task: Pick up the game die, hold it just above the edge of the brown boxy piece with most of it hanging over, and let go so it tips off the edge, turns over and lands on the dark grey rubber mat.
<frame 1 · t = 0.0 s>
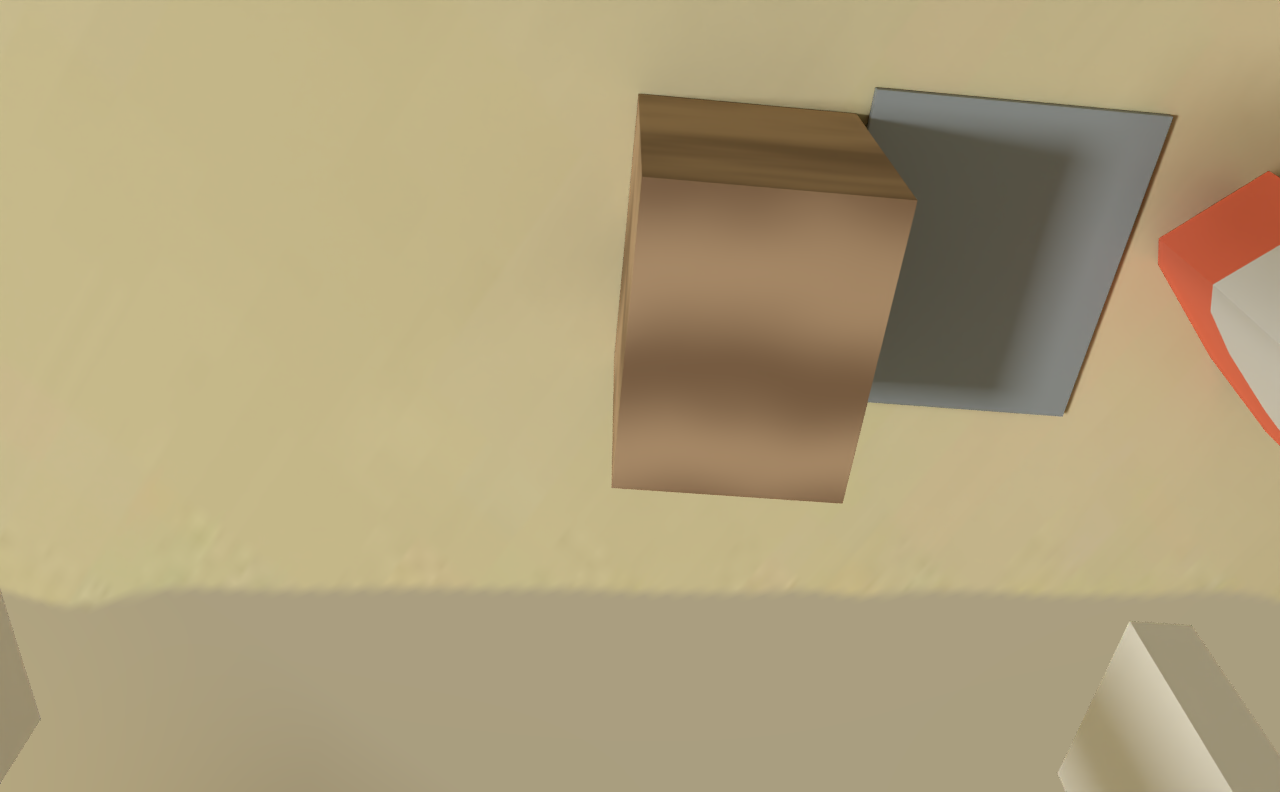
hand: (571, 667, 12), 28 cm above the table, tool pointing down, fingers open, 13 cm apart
mat: (976, 265, 40), on the table
brown boxy piece: (727, 244, 39), on the table
french fries container: (1227, 283, 41), on the table
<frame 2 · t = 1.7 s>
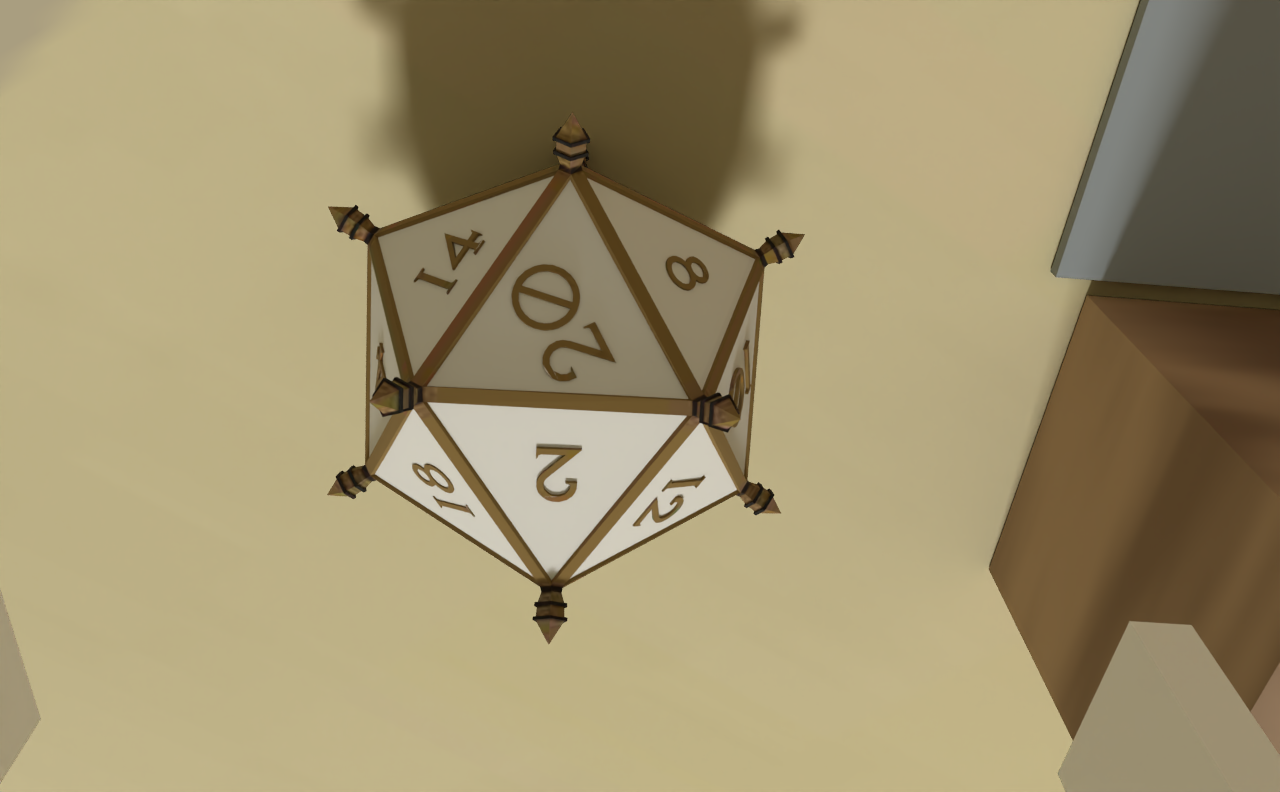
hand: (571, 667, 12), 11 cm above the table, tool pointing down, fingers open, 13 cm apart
brown boxy piece: (1248, 457, 25), on the table
game die: (570, 272, 22), on the table
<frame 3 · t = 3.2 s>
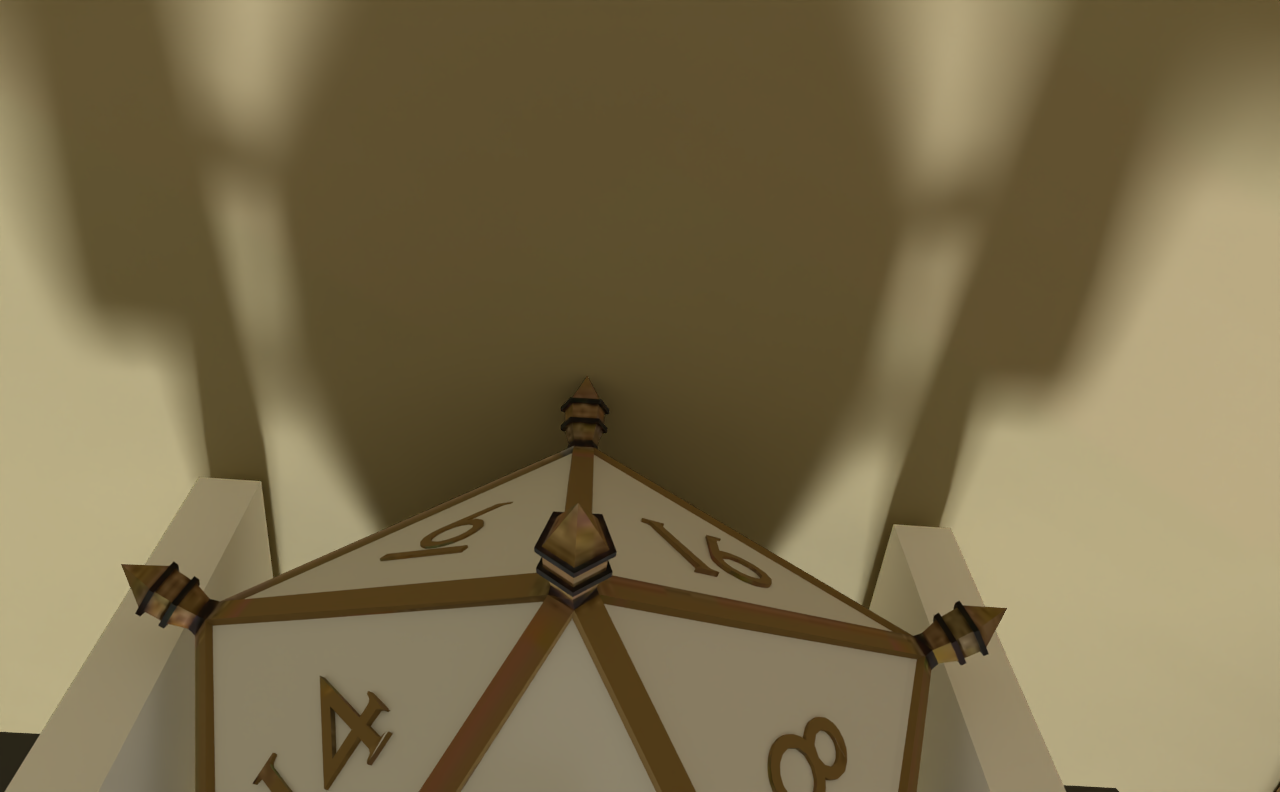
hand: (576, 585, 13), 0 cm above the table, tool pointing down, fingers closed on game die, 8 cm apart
game die: (576, 560, 14), on the table, touching gripper
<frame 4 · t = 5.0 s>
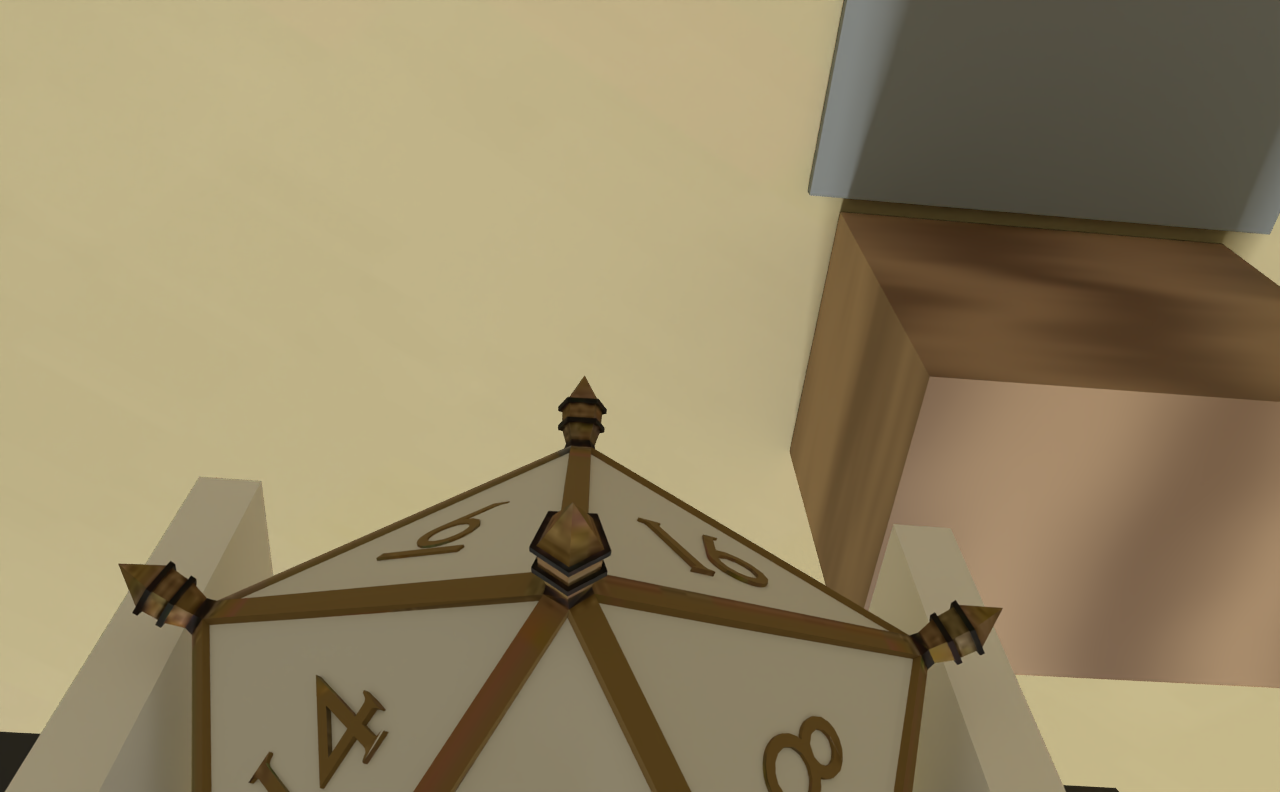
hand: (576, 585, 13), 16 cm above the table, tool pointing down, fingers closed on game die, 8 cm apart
mat: (1106, 0, 25), on the table
brown boxy piece: (994, 353, 30), on the table
game die: (574, 559, 14), point 15 cm above the table, touching gripper
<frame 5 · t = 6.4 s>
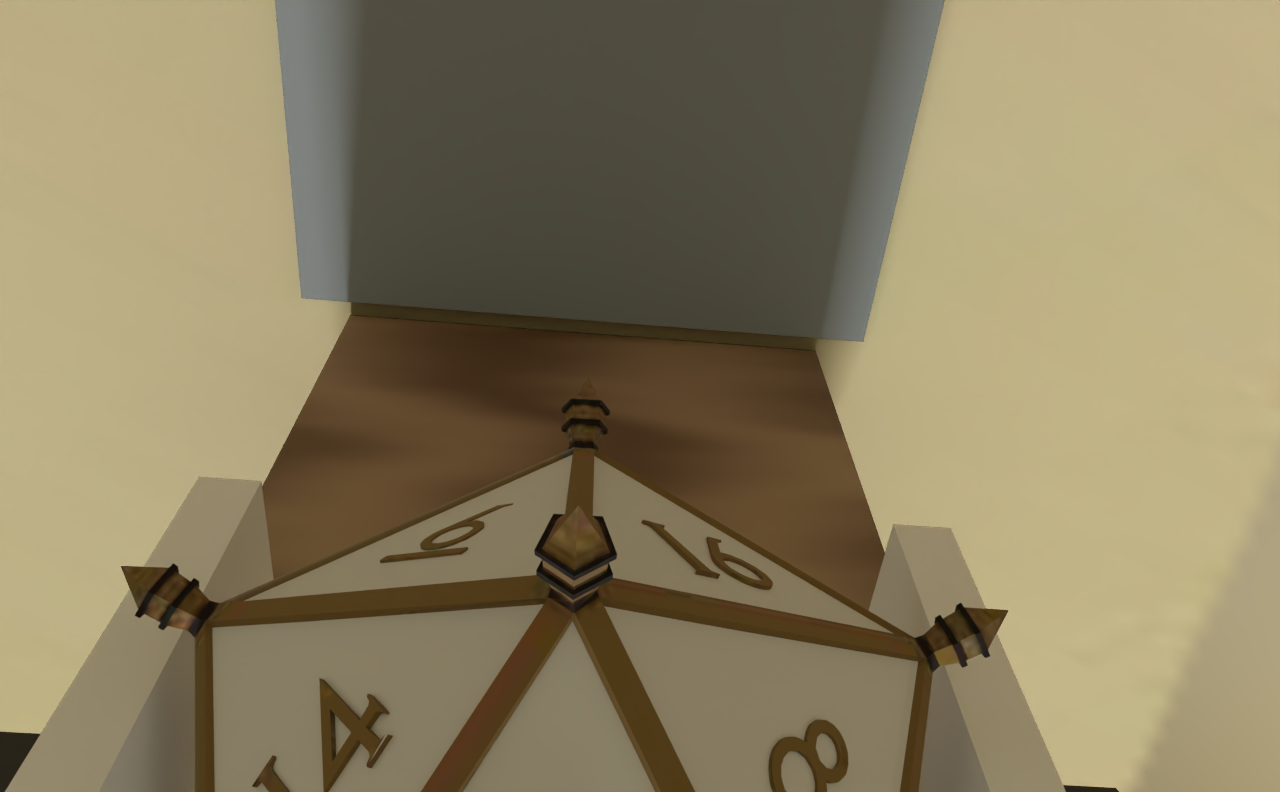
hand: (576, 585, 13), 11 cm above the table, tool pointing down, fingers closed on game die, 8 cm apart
mat: (605, 75, 21), on the table
brown boxy piece: (575, 471, 26), on the table
game die: (577, 561, 14), point 10 cm above the table, touching gripper
when the fingers open (10 cm above the table, at t = 6.9 s): game die drops 4 cm, resting on mat.
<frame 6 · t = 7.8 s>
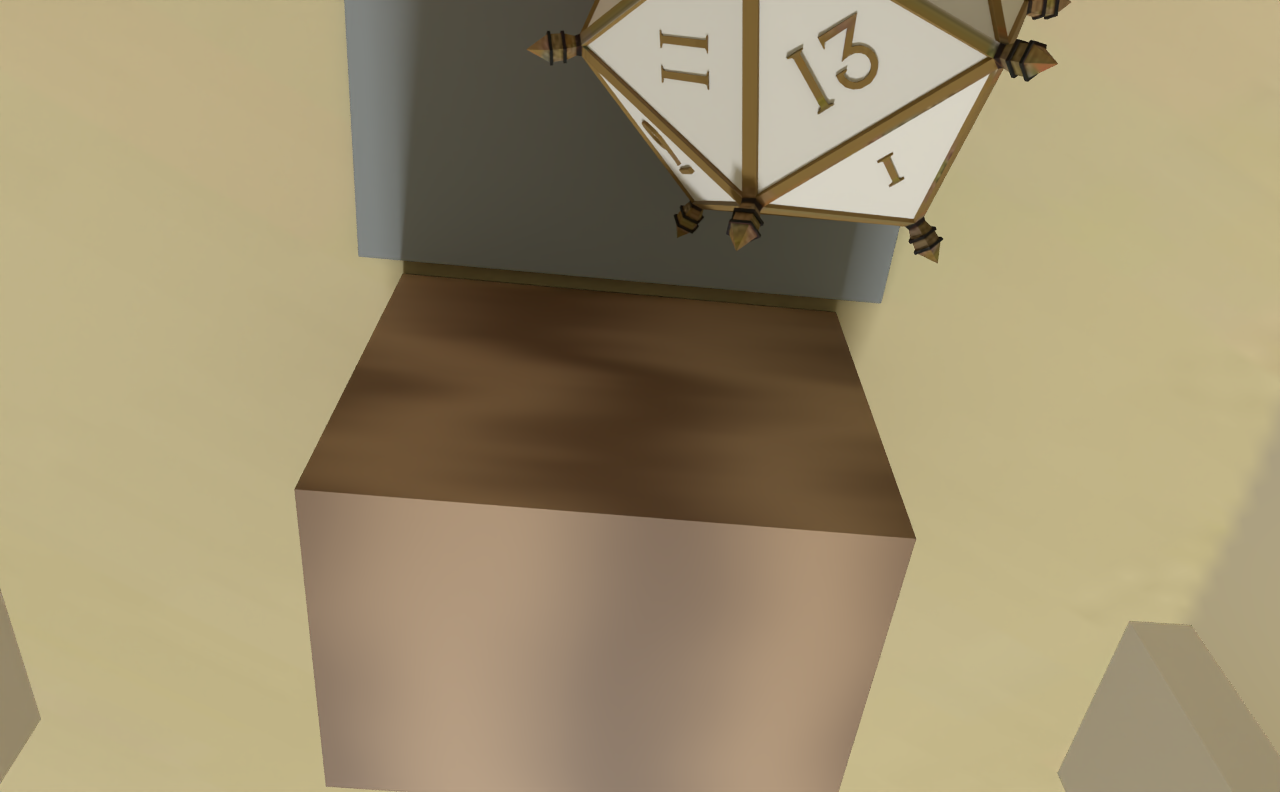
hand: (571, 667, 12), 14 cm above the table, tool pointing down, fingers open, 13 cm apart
mat: (644, 49, 22), on the table
brown boxy piece: (608, 424, 27), on the table
game die: (781, 261, 19), point 6 cm above the table, touching mat
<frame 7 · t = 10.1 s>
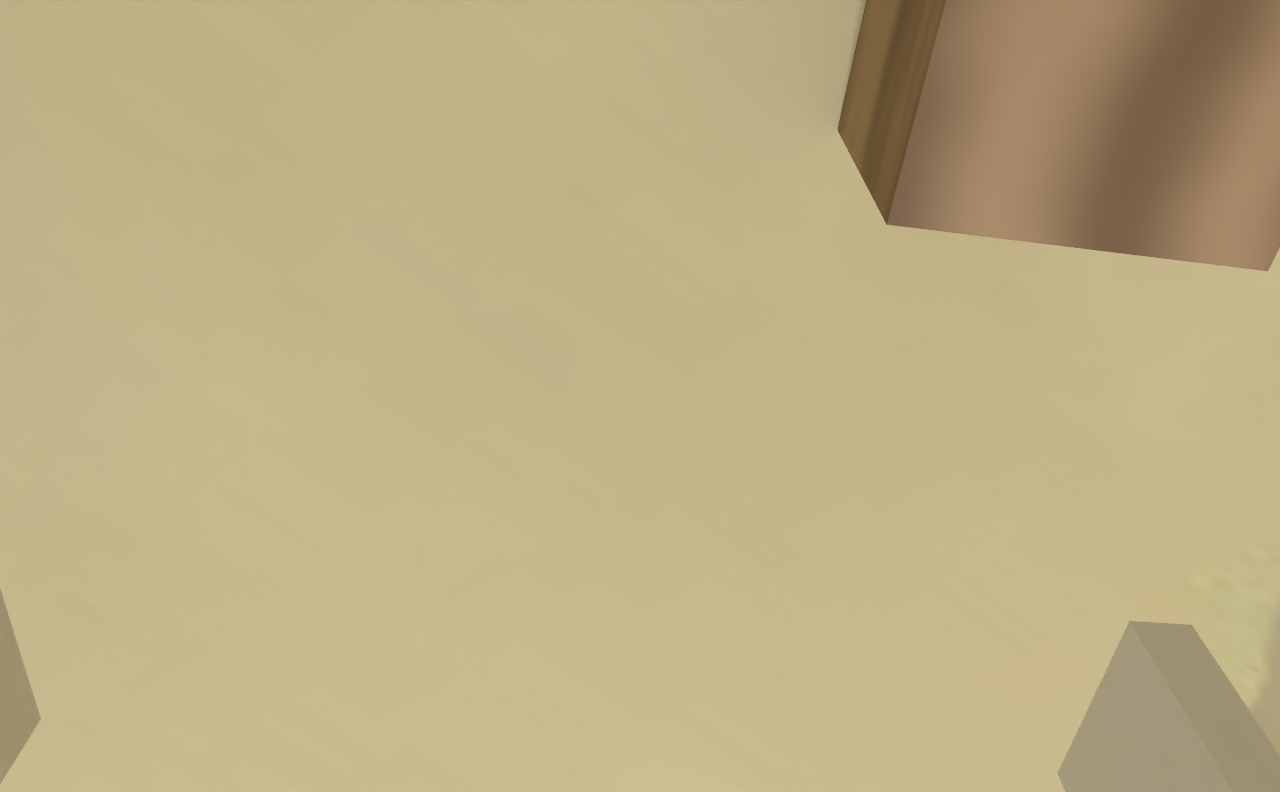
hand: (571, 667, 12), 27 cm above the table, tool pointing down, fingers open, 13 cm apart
brown boxy piece: (1024, 33, 34), on the table
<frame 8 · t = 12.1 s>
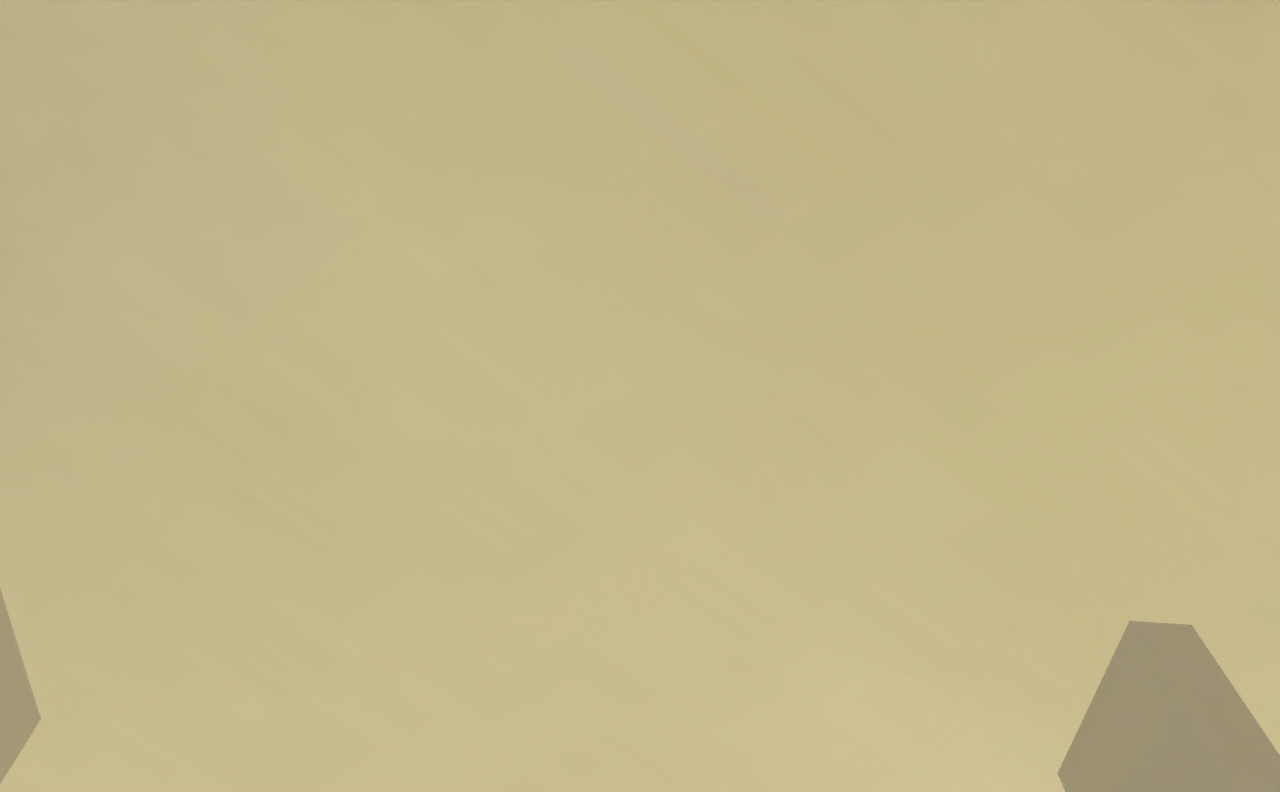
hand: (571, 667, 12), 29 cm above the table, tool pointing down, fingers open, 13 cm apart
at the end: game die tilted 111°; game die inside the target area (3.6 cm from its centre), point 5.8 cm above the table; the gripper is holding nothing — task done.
